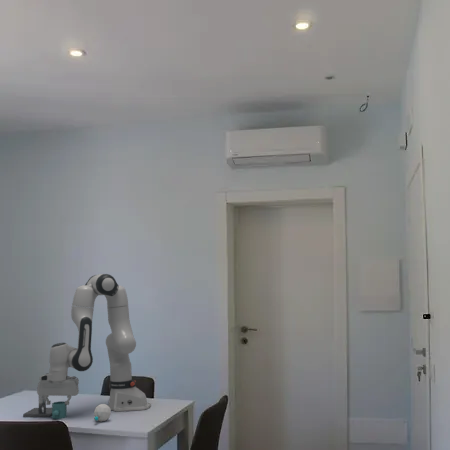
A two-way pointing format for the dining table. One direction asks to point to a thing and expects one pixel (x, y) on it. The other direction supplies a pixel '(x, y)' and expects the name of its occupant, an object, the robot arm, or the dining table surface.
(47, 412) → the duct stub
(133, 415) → the dining table surface
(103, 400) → the dining table surface
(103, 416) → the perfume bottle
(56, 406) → the sleeve
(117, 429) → the dining table surface
